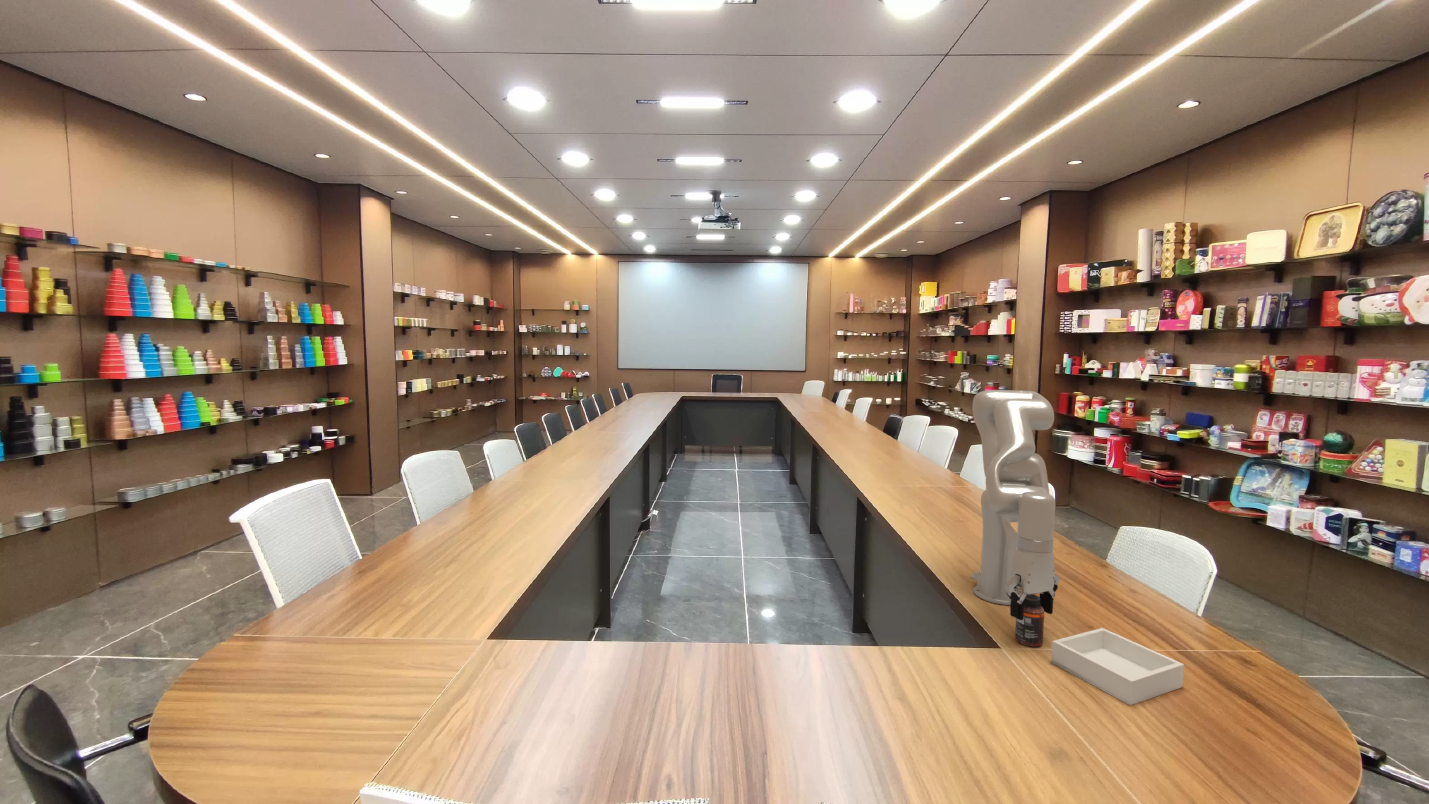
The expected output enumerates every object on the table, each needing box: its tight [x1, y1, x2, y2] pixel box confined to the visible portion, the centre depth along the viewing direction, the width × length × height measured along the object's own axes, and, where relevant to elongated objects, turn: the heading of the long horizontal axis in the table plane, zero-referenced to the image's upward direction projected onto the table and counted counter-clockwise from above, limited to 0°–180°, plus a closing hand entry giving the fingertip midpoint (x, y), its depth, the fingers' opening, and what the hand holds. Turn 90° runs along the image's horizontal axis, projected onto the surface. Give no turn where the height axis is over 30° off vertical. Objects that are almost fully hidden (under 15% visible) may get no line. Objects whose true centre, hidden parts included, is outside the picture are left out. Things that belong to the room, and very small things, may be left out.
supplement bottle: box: [1014, 594, 1045, 648], centre depth 138 cm, size 6×6×11 cm
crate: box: [1050, 627, 1185, 706], centre depth 124 cm, size 17×17×5 cm
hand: (1031, 614), depth 137 cm, fingers open, 9 cm apart
